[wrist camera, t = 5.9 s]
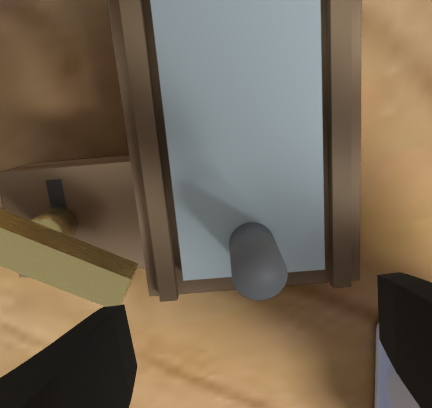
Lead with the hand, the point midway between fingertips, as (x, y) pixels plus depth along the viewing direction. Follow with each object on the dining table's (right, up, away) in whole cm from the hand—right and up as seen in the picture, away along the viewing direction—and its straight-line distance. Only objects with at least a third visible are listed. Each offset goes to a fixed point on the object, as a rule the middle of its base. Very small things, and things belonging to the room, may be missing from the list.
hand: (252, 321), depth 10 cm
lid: (0, +6, +5) cm, 8 cm away
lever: (-8, +2, +6) cm, 11 cm away
